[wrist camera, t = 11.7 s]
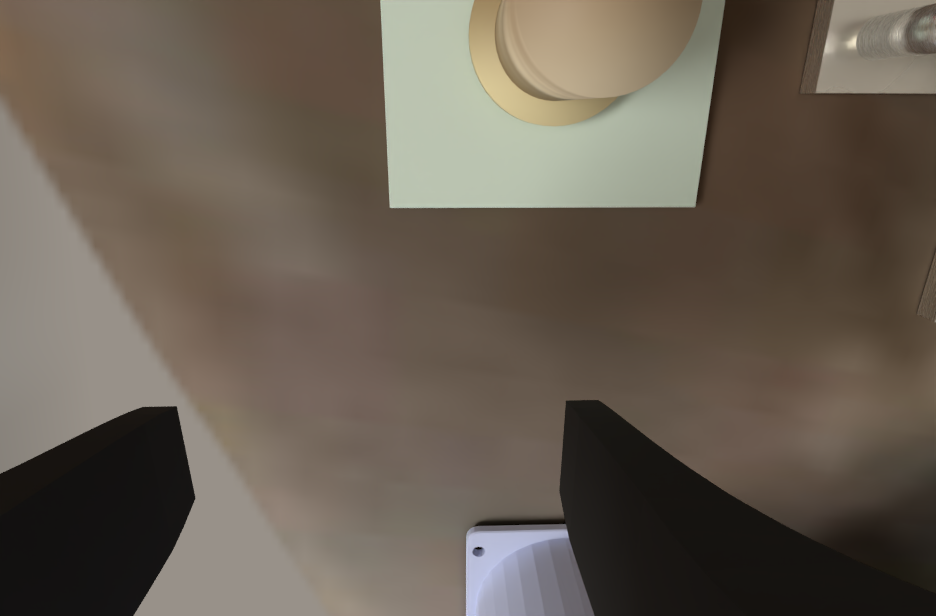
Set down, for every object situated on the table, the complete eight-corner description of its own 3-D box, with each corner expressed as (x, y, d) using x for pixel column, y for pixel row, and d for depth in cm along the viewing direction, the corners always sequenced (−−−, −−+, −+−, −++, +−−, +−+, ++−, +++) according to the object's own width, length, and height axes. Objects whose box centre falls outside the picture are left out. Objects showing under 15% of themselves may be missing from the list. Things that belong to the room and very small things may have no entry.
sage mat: (690, 205, 18) (695, 207, 18) (391, 205, 18) (389, 207, 18) (742, -163, 15) (749, -170, 15) (374, -170, 15) (372, -178, 14)
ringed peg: (628, 125, 17) (718, 134, 11) (468, 125, 17) (478, 133, 11) (647, -63, 15) (762, -162, 10) (469, -65, 15) (481, -168, 10)
